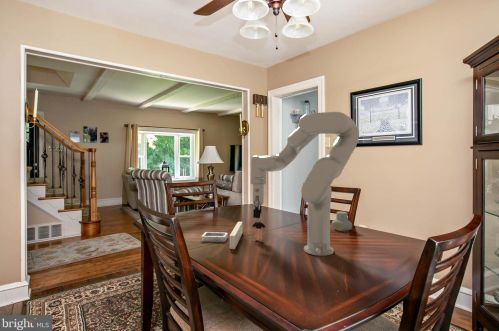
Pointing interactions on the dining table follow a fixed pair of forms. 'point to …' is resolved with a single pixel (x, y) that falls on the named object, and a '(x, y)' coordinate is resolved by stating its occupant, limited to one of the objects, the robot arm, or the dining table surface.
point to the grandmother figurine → (258, 229)
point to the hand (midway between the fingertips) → (257, 215)
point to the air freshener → (341, 222)
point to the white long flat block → (235, 235)
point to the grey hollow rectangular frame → (214, 237)
